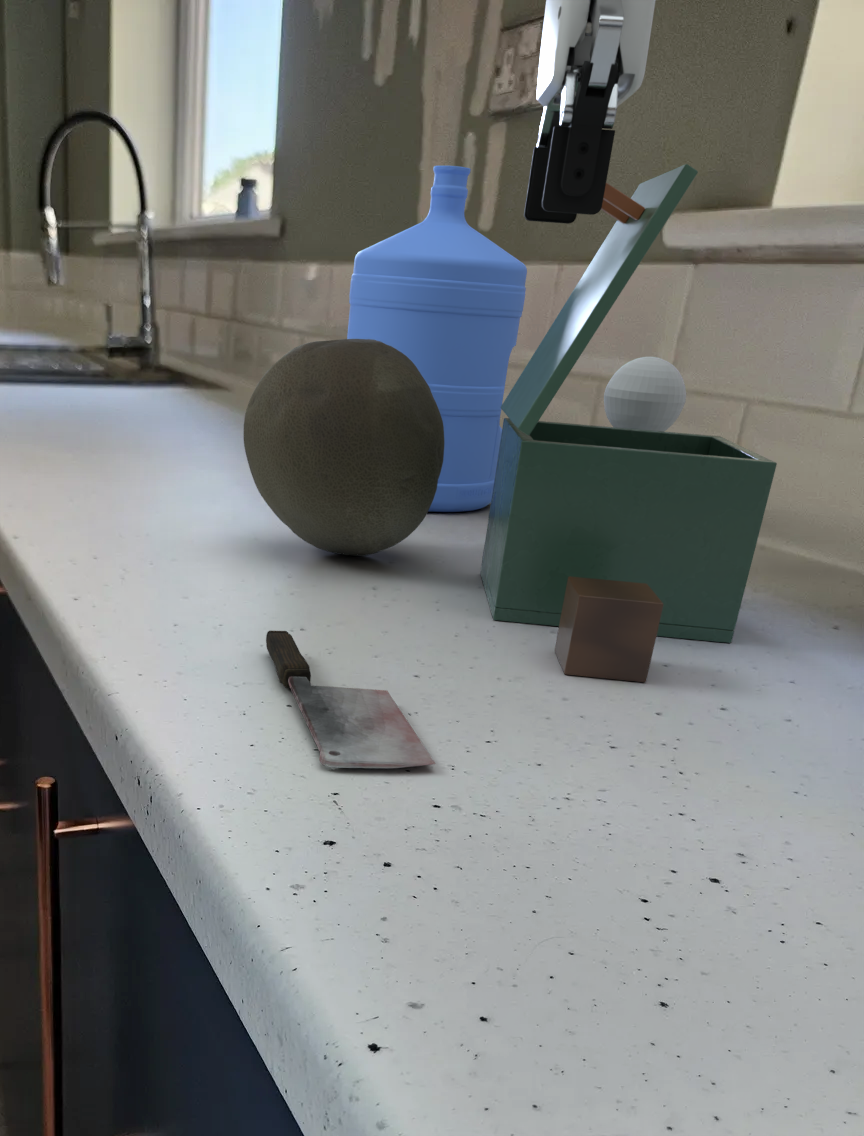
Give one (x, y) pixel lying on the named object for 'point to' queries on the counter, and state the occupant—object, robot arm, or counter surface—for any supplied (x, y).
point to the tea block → (608, 629)
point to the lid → (596, 290)
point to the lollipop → (645, 395)
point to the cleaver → (347, 716)
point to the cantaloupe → (345, 444)
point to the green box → (624, 522)
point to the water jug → (447, 328)
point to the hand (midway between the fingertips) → (559, 217)
